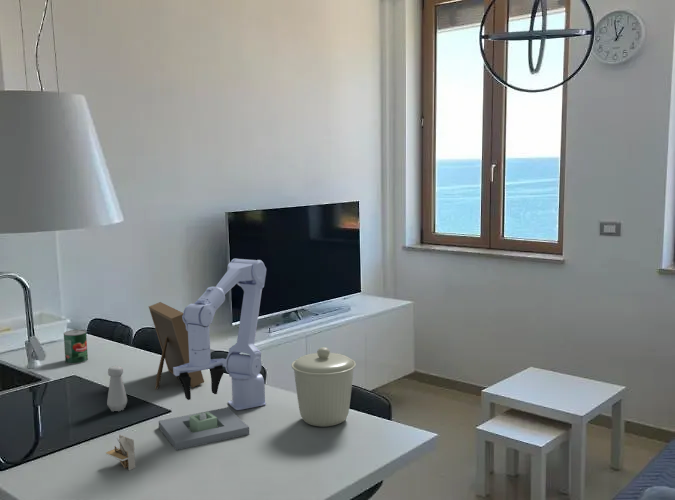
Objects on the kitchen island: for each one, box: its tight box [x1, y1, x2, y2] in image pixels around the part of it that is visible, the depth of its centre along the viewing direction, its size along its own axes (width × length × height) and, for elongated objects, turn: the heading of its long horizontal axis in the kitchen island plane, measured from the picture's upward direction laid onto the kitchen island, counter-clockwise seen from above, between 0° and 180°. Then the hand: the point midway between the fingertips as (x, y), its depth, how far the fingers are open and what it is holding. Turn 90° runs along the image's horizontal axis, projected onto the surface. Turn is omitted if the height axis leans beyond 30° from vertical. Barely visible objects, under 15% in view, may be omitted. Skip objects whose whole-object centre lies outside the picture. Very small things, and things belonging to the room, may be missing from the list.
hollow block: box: [189, 411, 218, 433], centre depth 185 cm, size 6×6×4 cm
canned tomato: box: [63, 329, 89, 365], centre depth 251 cm, size 8×8×11 cm
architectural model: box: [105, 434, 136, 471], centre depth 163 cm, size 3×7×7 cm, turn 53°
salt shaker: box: [106, 365, 128, 412], centre depth 201 cm, size 6×6×13 cm
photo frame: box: [148, 301, 205, 391], centre depth 226 cm, size 15×22×25 cm
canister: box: [291, 346, 357, 427], centre depth 190 cm, size 18×18×21 cm
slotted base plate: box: [158, 407, 250, 451], centre depth 185 cm, size 20×17×5 cm
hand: (201, 395), depth 185 cm, fingers open, 7 cm apart
